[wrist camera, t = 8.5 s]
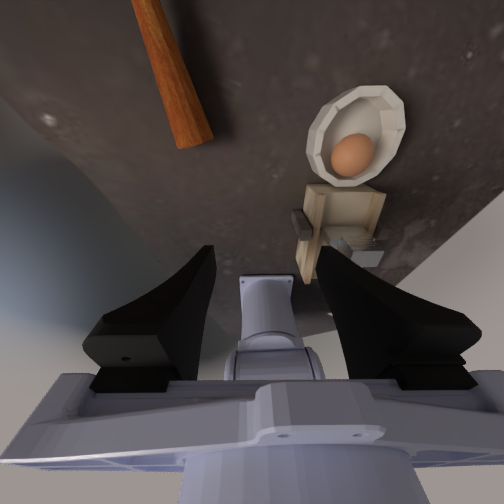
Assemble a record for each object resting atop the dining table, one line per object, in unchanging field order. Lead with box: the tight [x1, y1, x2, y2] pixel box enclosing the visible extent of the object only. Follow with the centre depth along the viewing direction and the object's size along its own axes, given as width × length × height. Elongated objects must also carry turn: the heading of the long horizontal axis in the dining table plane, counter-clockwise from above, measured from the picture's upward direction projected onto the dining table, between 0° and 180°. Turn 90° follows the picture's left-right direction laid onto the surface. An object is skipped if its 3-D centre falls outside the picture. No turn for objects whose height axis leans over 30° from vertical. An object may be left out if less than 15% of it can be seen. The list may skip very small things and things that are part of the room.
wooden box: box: [291, 183, 392, 284], centre depth 21 cm, size 10×9×5 cm
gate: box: [320, 226, 384, 267], centre depth 17 cm, size 2×4×5 cm, turn 91°
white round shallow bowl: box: [306, 86, 406, 187], centre depth 16 cm, size 7×7×2 cm
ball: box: [331, 133, 375, 177], centre depth 16 cm, size 3×3×3 cm
